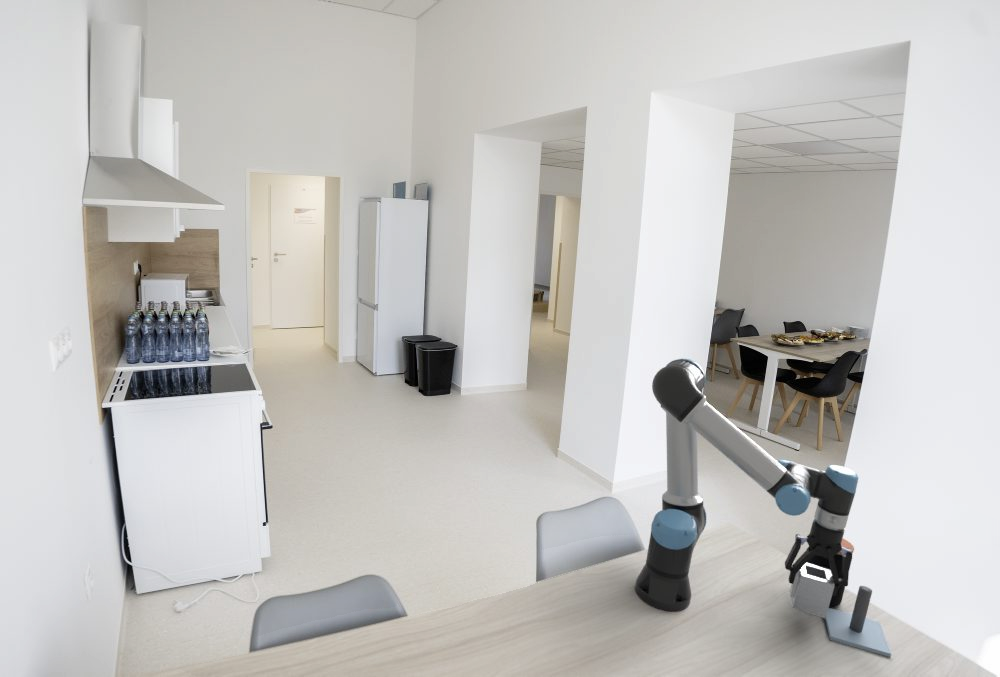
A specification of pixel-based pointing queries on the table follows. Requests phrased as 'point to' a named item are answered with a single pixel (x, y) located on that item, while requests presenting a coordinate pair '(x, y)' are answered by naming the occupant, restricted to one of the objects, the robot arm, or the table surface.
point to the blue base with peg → (857, 626)
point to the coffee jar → (838, 562)
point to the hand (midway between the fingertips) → (808, 598)
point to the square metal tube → (813, 590)
